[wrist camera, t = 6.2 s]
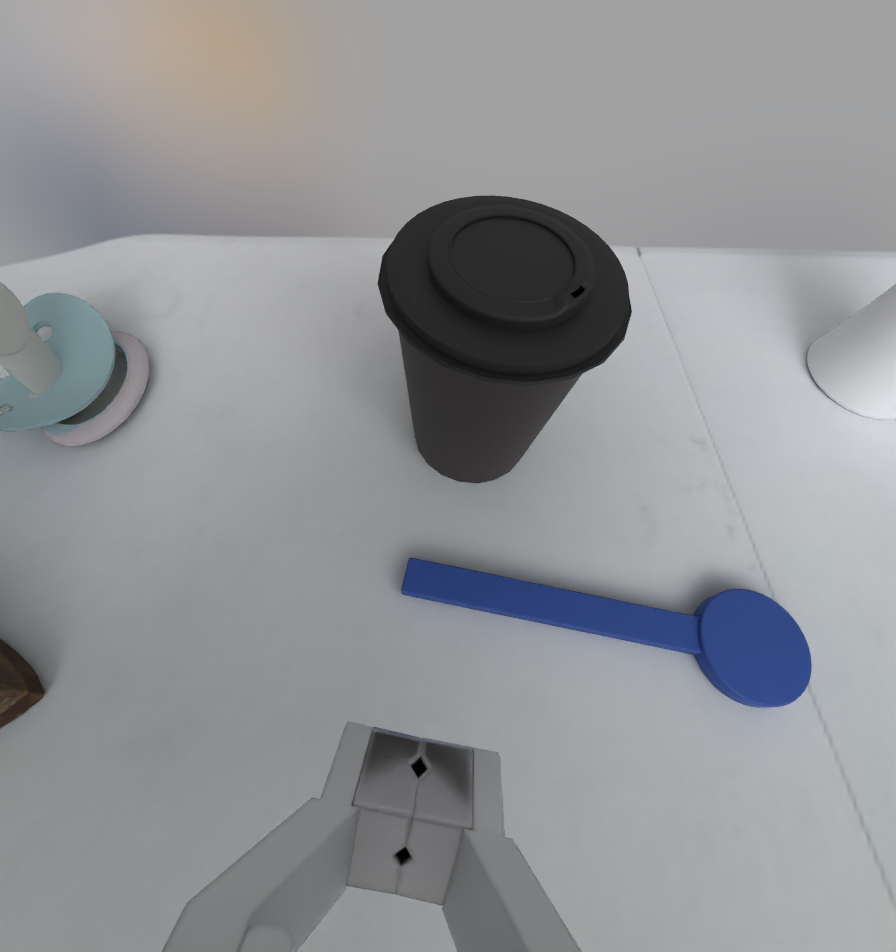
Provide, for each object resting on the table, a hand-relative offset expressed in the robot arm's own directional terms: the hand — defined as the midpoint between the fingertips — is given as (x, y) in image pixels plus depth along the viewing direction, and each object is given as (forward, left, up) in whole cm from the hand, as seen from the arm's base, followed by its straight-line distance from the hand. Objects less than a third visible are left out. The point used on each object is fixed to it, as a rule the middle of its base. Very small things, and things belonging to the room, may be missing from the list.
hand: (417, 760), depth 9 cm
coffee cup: (0, -13, -9) cm, 16 cm away
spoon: (-7, -6, -8) cm, 12 cm away
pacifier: (+18, -11, -9) cm, 23 cm away
